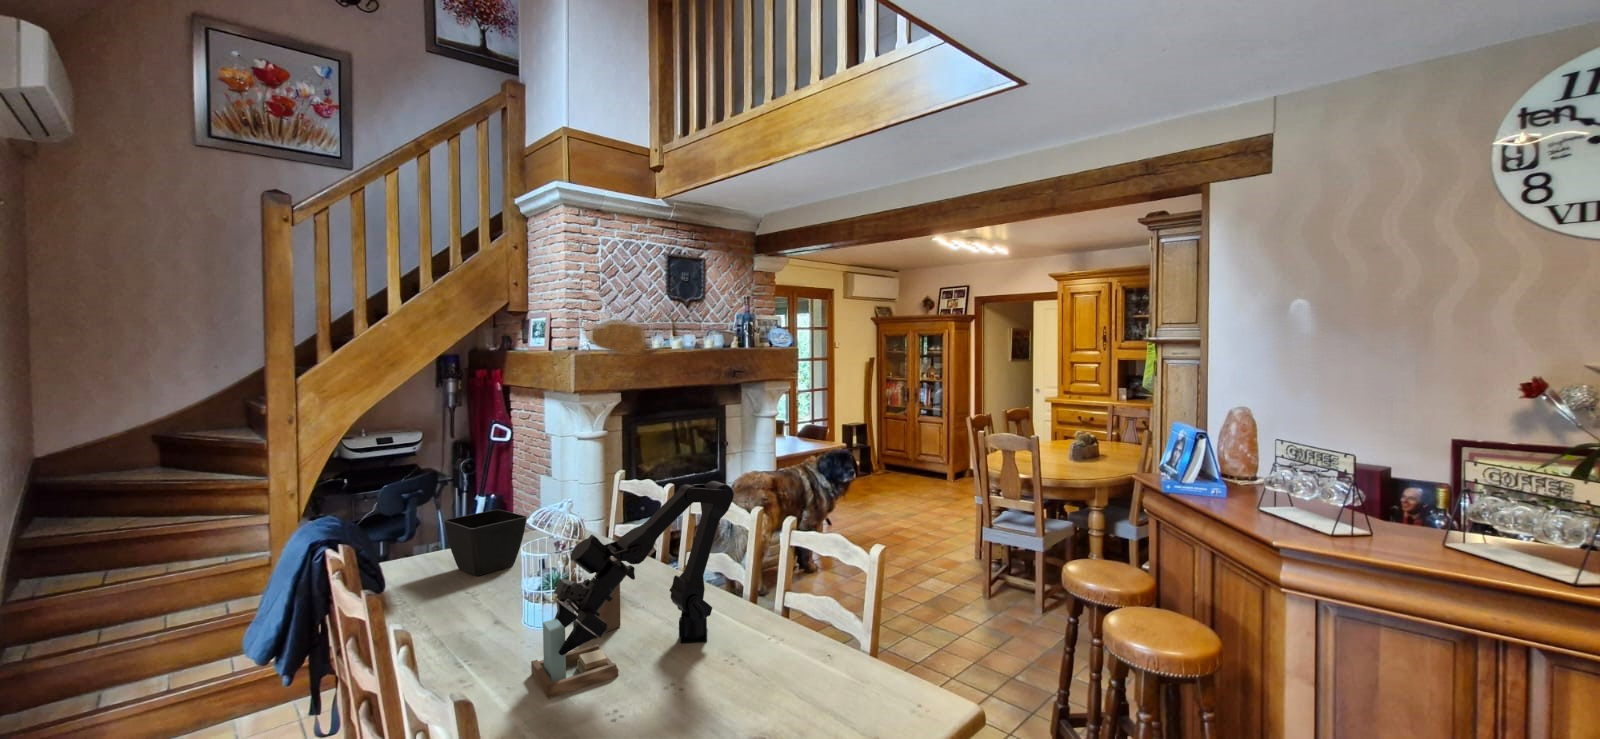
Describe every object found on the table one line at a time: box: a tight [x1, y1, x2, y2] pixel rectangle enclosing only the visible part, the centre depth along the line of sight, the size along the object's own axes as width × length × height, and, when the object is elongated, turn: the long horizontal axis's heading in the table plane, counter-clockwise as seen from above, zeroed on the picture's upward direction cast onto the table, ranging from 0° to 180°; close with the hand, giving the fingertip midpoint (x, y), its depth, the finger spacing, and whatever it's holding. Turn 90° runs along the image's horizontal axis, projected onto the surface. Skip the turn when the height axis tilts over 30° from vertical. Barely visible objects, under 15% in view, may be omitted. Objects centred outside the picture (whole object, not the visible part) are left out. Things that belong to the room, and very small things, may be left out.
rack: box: [530, 643, 619, 700], centre depth 138 cm, size 15×12×3 cm
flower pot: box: [443, 509, 528, 577], centre depth 207 cm, size 19×19×17 cm
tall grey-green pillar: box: [542, 618, 567, 682], centre depth 135 cm, size 3×6×12 cm, turn 37°
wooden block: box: [596, 556, 621, 637], centre depth 159 cm, size 9×4×18 cm, turn 144°
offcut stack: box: [576, 648, 608, 674], centre depth 140 cm, size 5×6×3 cm
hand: (553, 646), depth 135 cm, fingers open, 9 cm apart
